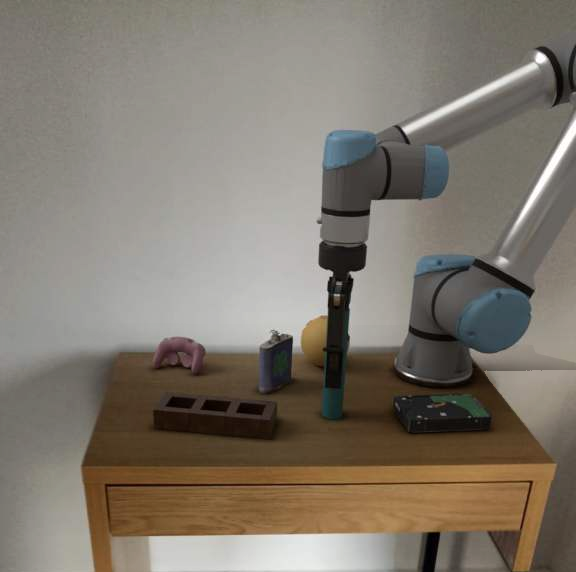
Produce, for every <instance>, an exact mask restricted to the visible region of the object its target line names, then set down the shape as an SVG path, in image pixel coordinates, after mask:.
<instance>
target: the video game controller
mask: <svg viewBox="0 0 576 572" xmlns="http://www.w3.org/2000/svg"><path fill="white" fill-rule="evenodd" d="M179 353H182V354H185V355H184V356H183V357H182V360H181V357H180V355H179ZM205 356H206V348H205V347H204V345H203V344H201V343H199V341H197V340H194V339H193V338H190V337H185V336H172V337H171V336H170V337H164V338H163V340H162V341H160V342H159V344H158V347H157V349H156V351H155V353H154V356H153V359H152V366H153V368H154V369H158V368H160V367H161V366H162V364H163V362H164V361H165V360H166V359H167V362H168V364H169V365H171V366H178V365H179V364H180V362H181V364H182V365H183V367H185V368H187V369H191V373H192V375H197V374H198V373H199V372H200V370H201V367H202V365H203V361H204V358H205Z"/></svg>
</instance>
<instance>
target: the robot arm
mask: <svg viewBox="0 0 576 572" xmlns="http://www.w3.org/2000/svg"><path fill="white" fill-rule="evenodd" d="M568 103H569V107H570V113H569V115H568V117H567V118H566V120H565V122H564V124H563V125H562V127H561V129H560V131H559V132H558V133H557V136H556V137H555V139H554V140H553V143H552V144H551V146H550V147H549V149H548V151H547V153H546V154H545V156H544V158H543V160H542V161H541V163H540V164H539V166H538V168H537V170H536V172H535V173H534V175H533V177H532V178H531V180H530V182H529V183H528V185H527V187H526V189H525V190H524V192H523V194H522V195H521V197H520V198H519V200H518V202H517V204H516V206H515V207H514V209H513V211H512V213H511V214H510V216H509V218H508V220H507V221H506V222H505V224H504V226H503V228H502V229H501V231H500V233H499V235H498V236H497V238H496V240H495V241H494V242H493V245H492V246H491V248H490V250H489V251H487V252H486V253H483V254H479V255H476V256H475V255H470V254H458V253H442V254H441V253H440V254H439V253H438V254H428V255H423V256H421V257H420V258H419V259H418V260H417V261H416V265H415V266H416V267H415V270H414V273H413V286H412V295H411V303H410V311H409V321H408V330H407V334H406V337H405V339H404V341H403V344H402V346H401V347H400V350H399V352H398V354H397V355H396V356H395V358H394V361H393V363H394V373H395V375H397V377H398V378H400V379H402V380H403V381H405V382H408V383H411V384H414V385H418V386H421V387H427V388H428V387H430V388H453V387H459V386H462V385H464V384H467V383H468V382H469V381H470V380H471V379H472V375H473V369H474V370H477V369H478V365H476V364H474V363H473V362H472V356H471V350H474V351H476V352H479V353H482V354H489V355H491V354H498V353H500V352H502V351H506V350H508V349H510V348H511V347H513V346H514V345H515V344H516V343H518V342H519V341H520V340H521V339H522V338H523V337H524V335H525V334H526V332H527V331H528V329H529V326H530V324H531V320H532V314H531V312H532V311H533V310H532V304H531V302H530V300H531V298H532V296H533V295H534V293H535V291H536V290H537V287H536V284H535V283H536V282H535V275H536V273H537V271H538V270H539V268H540V266H541V265H542V263H543V262H544V260H545V258H546V256H547V255H548V254H549V252H550V250H551V248H552V247H553V245H554V244H555V243H556V240H557V239H558V237H559V235H560V234H561V232H562V231H563V229H564V227H565V226H566V224H567V222H568V221H569V219H570V218H571V216H572V214H573V213H574V211H575V209H576V27H575V28H573V29H571V30H569V31H567V32H564V33H563V34H560V35H558V36H557V37H555V38H553V39H551V40H549V41H547V42H545V43H543V44H541V45H539V46H537V47H534V48H533V49H531V50H529V51H528V52H526V53H525V55H524V57H523V59H522V61H521V62H519V63H517V64H515V65H514V66H512V67H510V68H507V69H505V70H503V71H501V72H499V73H497V74H496V75H493V76H491V77H489V78H487V79H485V80H483V81H481V82H479V83H477V84H475V85H473V86H471V87H469V88H467V89H465V90H463V91H460V92H458V93H457V94H454V95H453V96H450V97H449V98H447V99H444V100H443V101H441V102H438V103H436V104H435V105H434V104H433V106H431V107H429V108H427V109H424V110H422V111H420V112H418V113H416V114H414V115H412V116H410V117H408V118H406V119H403V120H402V121H400V122H397V123H396V124H394V125H392V126H390V127H387V128H385V129H383V130H381V131H378V132H377V133H374V132H373V131H370V130H361V129H360V130H359V129H335V130H332V131H330V132H328V133H327V135H326V136H325V140H324V147H323V157H322V162H321V167H322V175H321V177H322V178H321V179H322V180H321V184H322V185H321V206H320V209H321V210H320V211H321V212H320V216H321V217H317V218H316V221H315V222H316V224H318V225H321V226H319V227H320V228H319V238H320V239H321V241H320V243H318V261H317V264H318V266H319V267H320V268H321V269H323V270H325V271H330V272H332V276H328V280H327V283H326V284H327V286H326V291H327V310H328V309H329V313H328V312H327V316H328V332H327V346H326V347H323V351H324V352H327V358H326V375H325V388H335V389H341V380H342V366H343V352H344V351H343V337H344V325H345V313H346V310H348V308H350V304H351V301H352V292H353V289H354V282H355V281H354V280H355V278H354V277H352V274H351V272H353V273H357V272H360V271H362V270H364V269H365V267H366V265H367V254H368V245H367V244H366V241H368V240H369V233H370V222H371V221H370V220H371V205H372V201H392V200H394V201H395V200H398V201H399V200H401V201H402V200H403V201H404V200H407V201H408V200H418V201H422V200H427V199H436V198H438V197H440V196H441V195H442V194H443V193H444V191H445V190H446V187H447V185H448V182H449V175H450V161H449V156H448V154H447V153H449V152H450V151H453V150H454V149H457V148H458V147H460V146H463V145H464V144H466V143H470V142H471V141H473V140H476V138H479V137H481V136H483V135H486V134H487V133H490V132H491V131H493V130H495V129H498V128H499V127H501V126H504V125H505V124H507V123H509V122H511V121H513V120H515V119H518V118H520V117H522V116H524V115H526V114H528V113H530V112H532V111H534V110H537V111H540V112H545V111H548V110H550V109H552V108H554V107H557V106H560V105H563V104H568ZM350 340H351V335H349V336H348V341H350ZM350 342H351V341H350ZM470 349H471V350H470Z"/></svg>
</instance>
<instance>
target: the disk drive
mask: <svg viewBox="0 0 576 572" xmlns="http://www.w3.org/2000/svg"><path fill="white" fill-rule="evenodd" d="M392 408H393V410H394V412H395V414H396V415H397V417H398V418H399V420H400V422H401V423H402V424H403V426H404V428H405V429H406V431H407V432H409V433H433V432H434V433H437V432H438V433H439V432H453V431H455V432H457V431H458V432H460V431H482V430H490V429H491V427H492V422H493V415H492V414H491V413H490V412H489V411H488V409H487V408H485V405H484V404H483V403H482V404H481V403H480V401H479V400H478V399H476V398H475V395H474V394H469V393H465V394H463V393H451V394H449V393H447V394H445V393H444V394H416V395H395V396H394V397H393V405H392Z"/></svg>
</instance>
